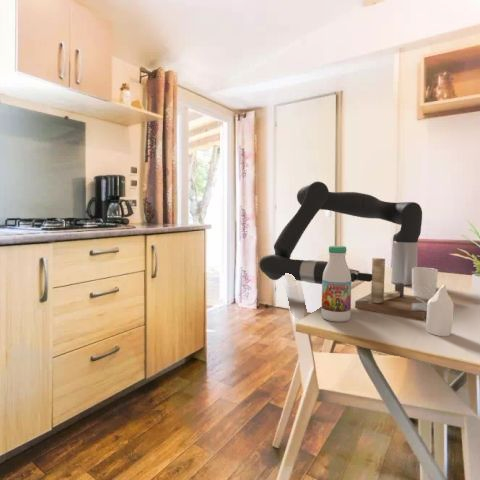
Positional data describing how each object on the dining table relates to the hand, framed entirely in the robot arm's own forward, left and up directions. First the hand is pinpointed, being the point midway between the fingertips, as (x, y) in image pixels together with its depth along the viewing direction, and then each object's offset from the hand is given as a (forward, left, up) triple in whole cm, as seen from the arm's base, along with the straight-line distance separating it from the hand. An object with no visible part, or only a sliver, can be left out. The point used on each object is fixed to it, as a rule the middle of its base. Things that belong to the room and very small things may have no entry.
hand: (371, 277), depth 103 cm
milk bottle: (+16, -4, -10) cm, 19 cm away
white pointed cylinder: (+10, +20, -10) cm, 24 cm away
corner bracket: (-2, +12, -7) cm, 14 cm away
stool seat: (-8, +5, -9) cm, 13 cm away
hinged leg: (-6, +3, -7) cm, 10 cm away
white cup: (-25, +9, -10) cm, 29 cm away
